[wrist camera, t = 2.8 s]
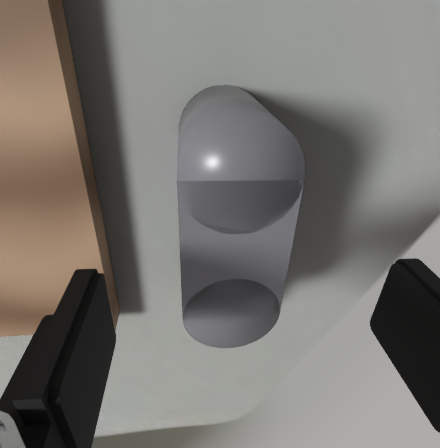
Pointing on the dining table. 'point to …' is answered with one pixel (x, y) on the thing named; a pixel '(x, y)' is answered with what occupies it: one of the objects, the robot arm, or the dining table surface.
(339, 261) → the dining table surface
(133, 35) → the dining table surface
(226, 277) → the block
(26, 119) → the walnut board
